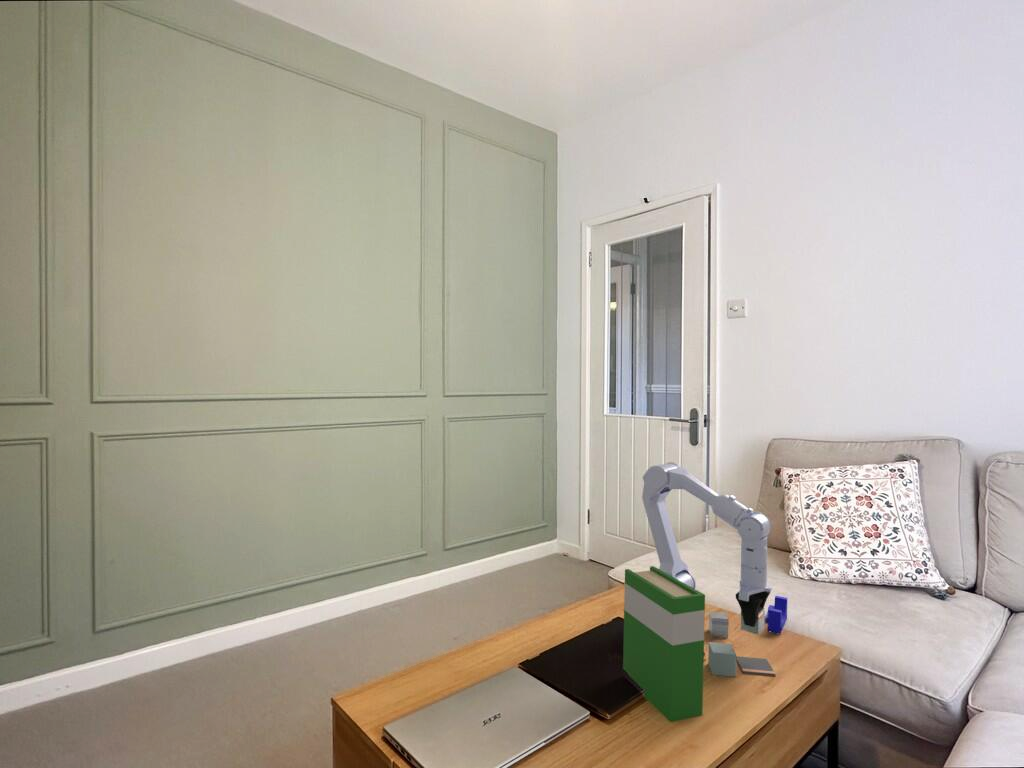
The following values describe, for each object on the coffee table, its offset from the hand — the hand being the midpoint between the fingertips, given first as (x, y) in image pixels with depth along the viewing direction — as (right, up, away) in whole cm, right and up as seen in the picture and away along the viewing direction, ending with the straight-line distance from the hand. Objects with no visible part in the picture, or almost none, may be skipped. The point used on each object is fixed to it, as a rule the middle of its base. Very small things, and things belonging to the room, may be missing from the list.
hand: (752, 622), depth 135 cm
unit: (-9, -9, -5) cm, 14 cm away
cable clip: (+15, -9, +20) cm, 26 cm away
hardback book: (-26, -9, -15) cm, 32 cm away
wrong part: (-3, -9, +13) cm, 16 cm away
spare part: (0, -2, 0) cm, 2 cm away
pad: (-1, -9, -3) cm, 10 cm away
